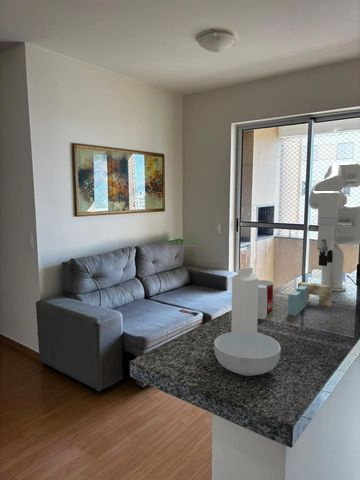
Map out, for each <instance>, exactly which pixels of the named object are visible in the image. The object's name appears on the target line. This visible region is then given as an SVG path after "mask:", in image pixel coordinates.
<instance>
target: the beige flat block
mask: <svg viewBox="0 0 360 480" xmlns="http://www.w3.org/2000/svg"><path fill="white" fill-rule="evenodd" d="M320 284H321V283H312V282H302V281H300V282H299V281H298V282H297V288H298V287H299V286H307V287H308V297H307V304H308V303H310V298H311V297H310V295H314V296H318V306H322V307H331V306H332V295H333V294H332V293H333V291H332V286H328V285H320Z"/></svg>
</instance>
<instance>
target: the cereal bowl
mask: <svg viewBox="0 0 360 480" xmlns="http://www.w3.org/2000/svg"><path fill="white" fill-rule="evenodd" d="M213 348H214V350H213V351H214V354H215V357H216V360H217V361H218V363H219V364H220V365H221V366H222V367H224V368H225V369H226V370H228V371H230V372H233V373H235V374H238V375H240V376H246V377H250V376H257V375H262V374H266V373H268V372H270V371H271V370H272V371H273V369H274V368H275V367H276V366H277V365H278V363H279V362H280V361H279V360H280V359H281V350H282V348H281V345H280V343H279V342H278V341H277V340H276V339H275V338H273V337H271V336H269V335H267V334H264V333H260V332H257V333H256V332H249V331H235V332H231V331H230V332H225V333H222V334H219V335H218V336H216V338H215V339H214V342H213Z"/></svg>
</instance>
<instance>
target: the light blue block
mask: <svg viewBox="0 0 360 480" xmlns="http://www.w3.org/2000/svg"><path fill="white" fill-rule="evenodd" d="M307 297H308V287H307V286H299V287H298V286H297V287H296V290H292V291H291V292H290V293H288V300H287V304H288V305H287V315H288V316H293V317H297V315H299V314H300V313H301V312H302V311H303V310H304V309H305V308H306V307H308V303H307Z"/></svg>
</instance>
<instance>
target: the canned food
mask: <svg viewBox="0 0 360 480" xmlns="http://www.w3.org/2000/svg"><path fill="white" fill-rule="evenodd" d="M258 285H267V313H269V312H271V311H272V310H273V300H274V297H273V296H274V282H272V281H270V280H264V279H263V280H259V279H258Z"/></svg>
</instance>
